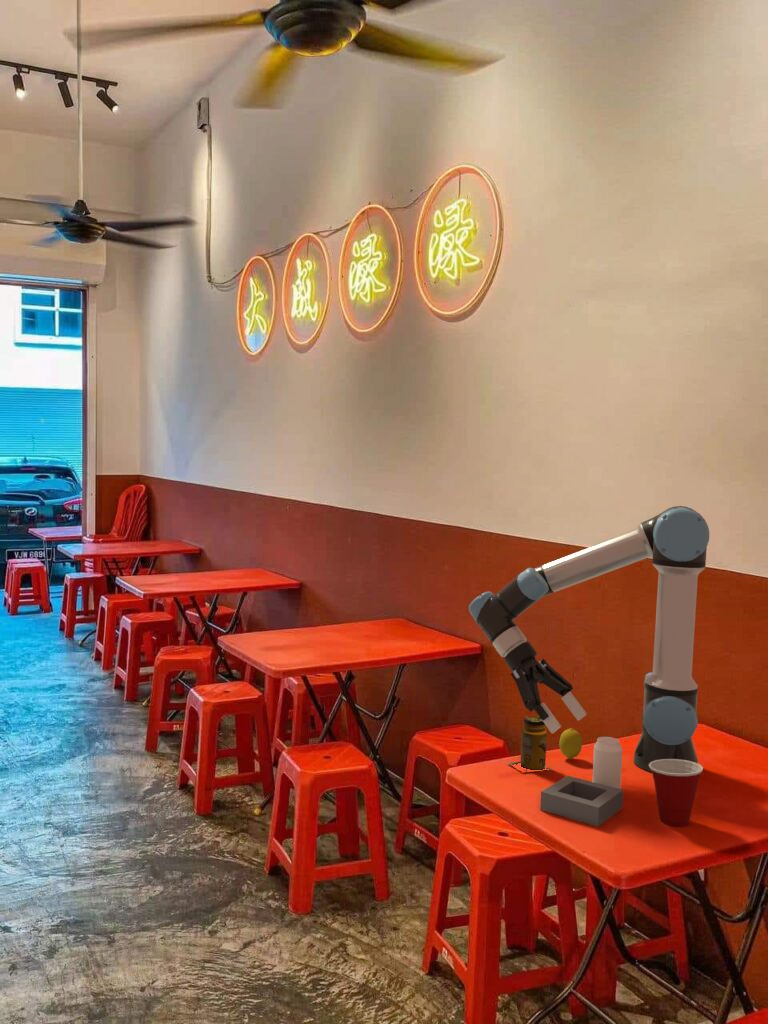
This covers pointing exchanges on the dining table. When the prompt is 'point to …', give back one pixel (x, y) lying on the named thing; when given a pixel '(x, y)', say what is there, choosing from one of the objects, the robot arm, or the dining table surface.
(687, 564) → the robot arm
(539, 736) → the condiment
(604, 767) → the beverage can
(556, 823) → the dining table surface
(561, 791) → the square frame
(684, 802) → the plastic cup
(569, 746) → the lemon
